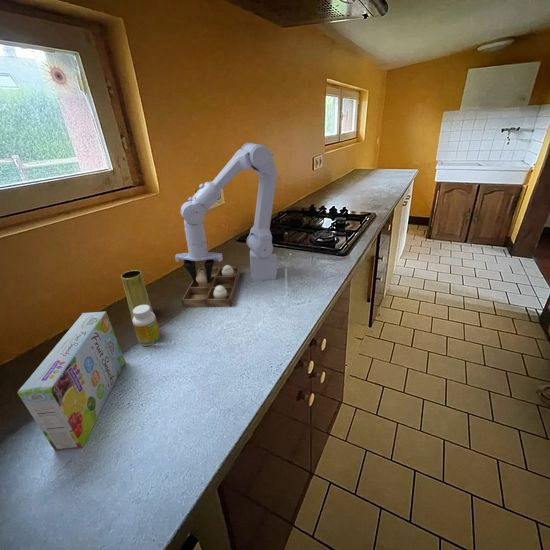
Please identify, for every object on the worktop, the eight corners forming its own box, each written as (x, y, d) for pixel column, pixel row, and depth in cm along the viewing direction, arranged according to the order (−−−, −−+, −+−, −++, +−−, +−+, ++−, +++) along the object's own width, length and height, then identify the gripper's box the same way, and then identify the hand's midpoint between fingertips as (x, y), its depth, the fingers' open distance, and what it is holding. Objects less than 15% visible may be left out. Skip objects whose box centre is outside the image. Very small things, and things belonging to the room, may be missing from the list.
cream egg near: (228, 296, 96) (227, 282, 93) (226, 303, 92) (224, 289, 90) (215, 296, 96) (213, 282, 93) (213, 303, 92) (210, 289, 90)
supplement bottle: (153, 347, 76) (144, 316, 72) (134, 345, 77) (124, 314, 73) (164, 334, 81) (157, 303, 76) (146, 332, 82) (137, 302, 77)
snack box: (102, 364, 71) (81, 311, 64) (126, 362, 72) (108, 309, 65) (51, 452, 53) (14, 391, 46) (84, 448, 53) (52, 388, 46)
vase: (158, 313, 90) (148, 270, 83) (144, 325, 85) (131, 280, 78) (141, 309, 91) (130, 267, 85) (127, 321, 86) (113, 277, 80)
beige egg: (210, 281, 101) (208, 267, 99) (207, 287, 98) (205, 273, 95) (198, 281, 101) (196, 267, 99) (195, 287, 98) (192, 273, 95)
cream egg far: (235, 275, 108) (234, 262, 106) (233, 281, 104) (232, 268, 102) (223, 275, 108) (222, 262, 106) (221, 281, 105) (219, 268, 102)
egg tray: (240, 275, 110) (240, 267, 108) (231, 308, 91) (230, 299, 89) (200, 275, 110) (199, 267, 109) (183, 309, 91) (181, 299, 90)
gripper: (222, 236, 96) (226, 274, 102) (177, 237, 96) (184, 274, 103) (218, 245, 90) (222, 284, 96) (169, 245, 90) (177, 285, 96)
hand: (202, 280), depth 99 cm, fingers closed on beige egg, 4 cm apart
